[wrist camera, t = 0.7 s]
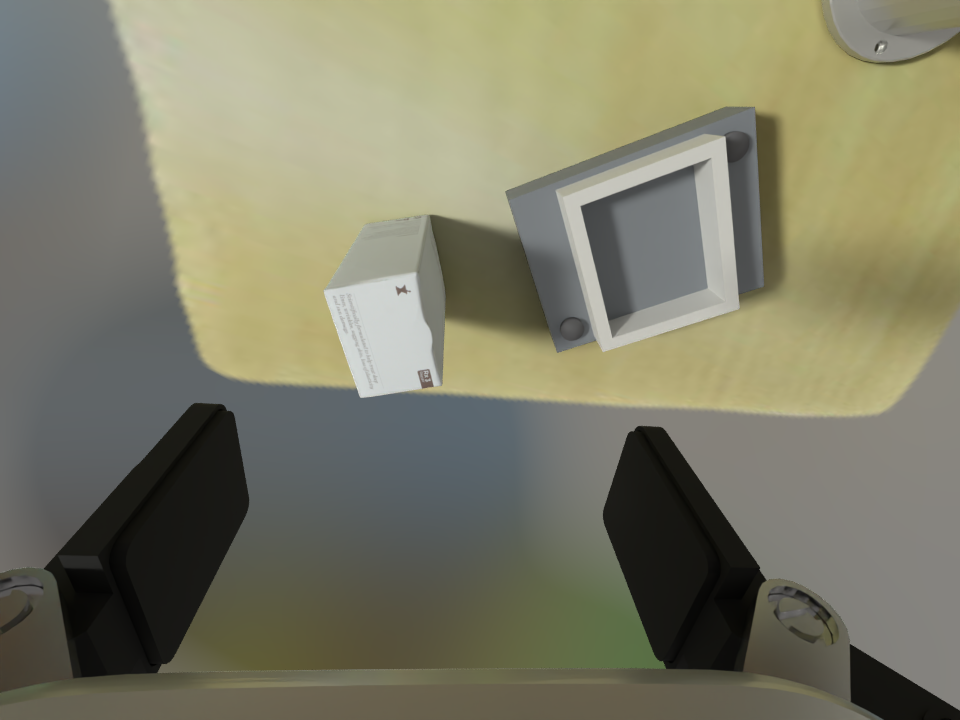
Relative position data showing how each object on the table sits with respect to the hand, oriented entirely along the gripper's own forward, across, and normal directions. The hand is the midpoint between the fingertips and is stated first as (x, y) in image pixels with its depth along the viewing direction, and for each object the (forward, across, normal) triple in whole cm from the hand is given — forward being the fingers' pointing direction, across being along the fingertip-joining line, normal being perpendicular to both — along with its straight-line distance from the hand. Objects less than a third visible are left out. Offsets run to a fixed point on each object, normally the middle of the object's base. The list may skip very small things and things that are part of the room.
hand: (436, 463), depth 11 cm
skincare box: (+32, +3, +5) cm, 32 cm away
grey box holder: (+31, -16, 0) cm, 35 cm away
